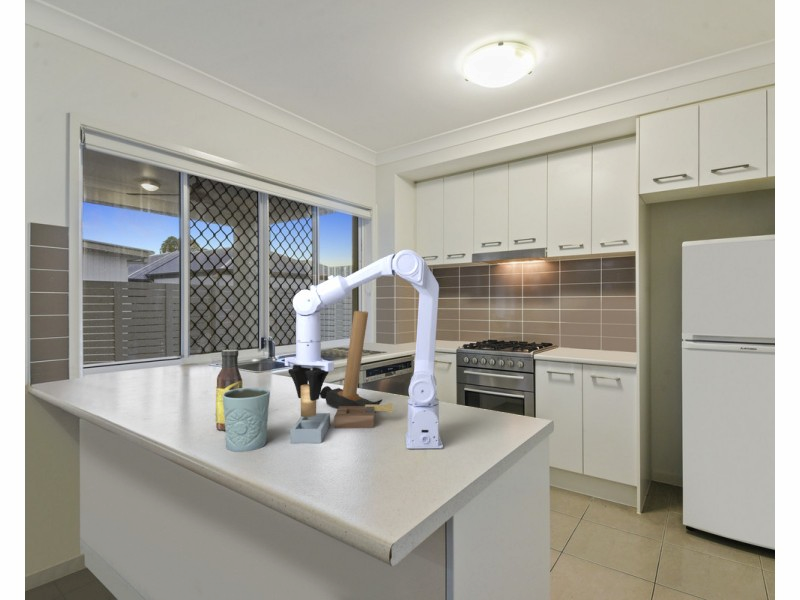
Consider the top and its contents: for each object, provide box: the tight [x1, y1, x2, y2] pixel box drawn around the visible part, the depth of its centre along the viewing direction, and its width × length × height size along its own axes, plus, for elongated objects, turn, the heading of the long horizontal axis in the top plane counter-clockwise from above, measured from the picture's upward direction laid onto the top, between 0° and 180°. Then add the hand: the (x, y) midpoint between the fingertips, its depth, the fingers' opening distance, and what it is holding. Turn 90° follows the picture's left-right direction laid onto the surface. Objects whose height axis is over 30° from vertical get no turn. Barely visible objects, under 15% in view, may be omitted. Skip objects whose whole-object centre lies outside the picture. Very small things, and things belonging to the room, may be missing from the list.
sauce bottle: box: [215, 349, 243, 431], centre depth 107 cm, size 7×6×20 cm
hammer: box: [319, 310, 383, 409], centre depth 124 cm, size 20×5×30 cm, turn 56°
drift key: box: [365, 402, 393, 414], centre depth 111 cm, size 3×7×2 cm, turn 91°
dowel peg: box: [300, 383, 317, 417], centre depth 99 cm, size 4×4×7 cm
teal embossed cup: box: [222, 387, 271, 453], centre depth 94 cm, size 10×10×12 cm
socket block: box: [333, 404, 376, 429], centre depth 111 cm, size 10×10×4 cm
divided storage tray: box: [289, 412, 331, 444], centre depth 102 cm, size 14×7×3 cm, turn 1°
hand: (308, 398), depth 99 cm, fingers closed on dowel peg, 4 cm apart
